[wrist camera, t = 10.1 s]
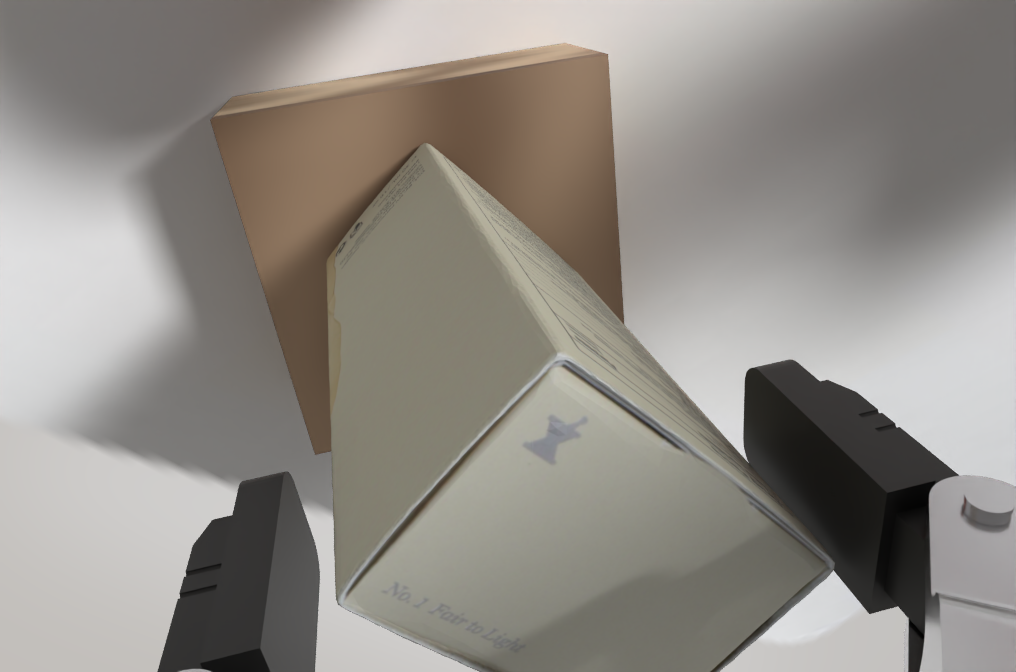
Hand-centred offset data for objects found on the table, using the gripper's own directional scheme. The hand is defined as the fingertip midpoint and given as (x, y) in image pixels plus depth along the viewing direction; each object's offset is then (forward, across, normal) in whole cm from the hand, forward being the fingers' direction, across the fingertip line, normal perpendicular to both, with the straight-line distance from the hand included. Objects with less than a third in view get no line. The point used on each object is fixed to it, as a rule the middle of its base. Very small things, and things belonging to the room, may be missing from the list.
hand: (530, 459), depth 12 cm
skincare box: (+9, 0, 0) cm, 9 cm away
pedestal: (+13, 0, 0) cm, 13 cm away
